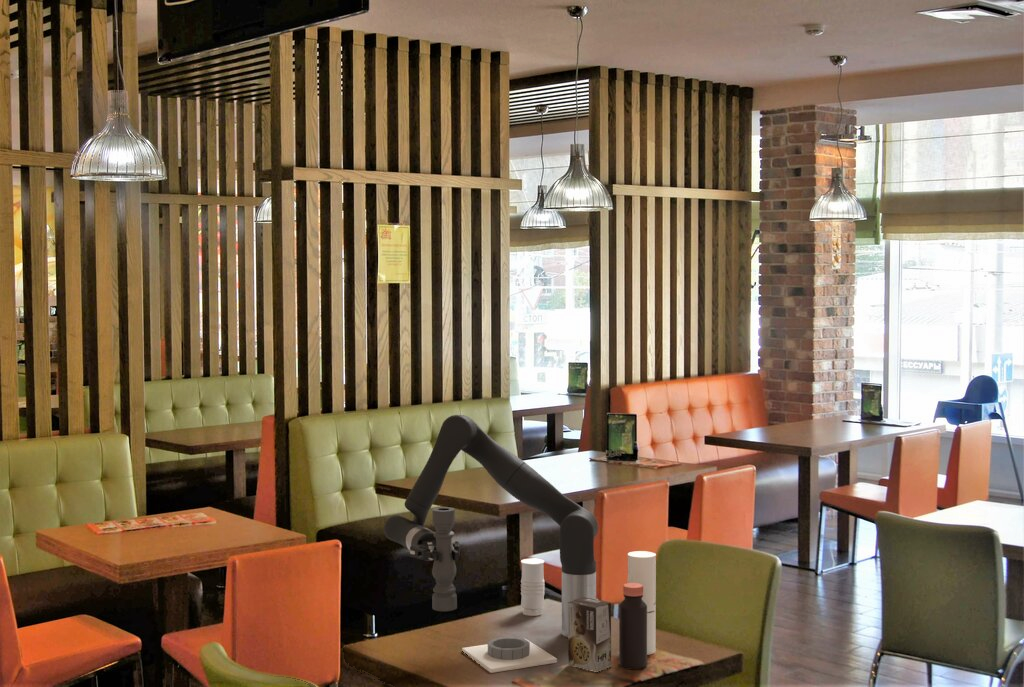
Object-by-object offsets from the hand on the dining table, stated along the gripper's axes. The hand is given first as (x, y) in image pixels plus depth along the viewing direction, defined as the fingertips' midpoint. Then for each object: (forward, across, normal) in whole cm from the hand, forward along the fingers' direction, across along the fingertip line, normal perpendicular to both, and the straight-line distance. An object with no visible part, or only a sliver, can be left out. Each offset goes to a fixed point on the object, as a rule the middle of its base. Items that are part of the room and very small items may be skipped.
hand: (448, 557), depth 282 cm
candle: (-30, +38, +27) cm, 55 cm away
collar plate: (+3, +15, +26) cm, 31 cm away
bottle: (+22, +40, +27) cm, 53 cm away
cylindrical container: (+13, +48, +27) cm, 56 cm away
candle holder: (-3, 0, +14) cm, 14 cm away
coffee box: (+18, +30, +27) cm, 44 cm away
